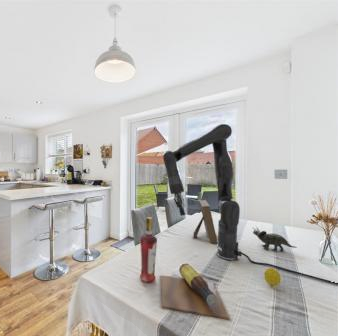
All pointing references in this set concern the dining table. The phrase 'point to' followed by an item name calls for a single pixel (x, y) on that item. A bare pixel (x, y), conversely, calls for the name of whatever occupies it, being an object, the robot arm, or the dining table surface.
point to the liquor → (148, 253)
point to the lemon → (272, 276)
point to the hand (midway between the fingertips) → (183, 215)
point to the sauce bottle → (197, 283)
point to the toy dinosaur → (271, 240)
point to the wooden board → (189, 298)
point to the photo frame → (206, 222)
